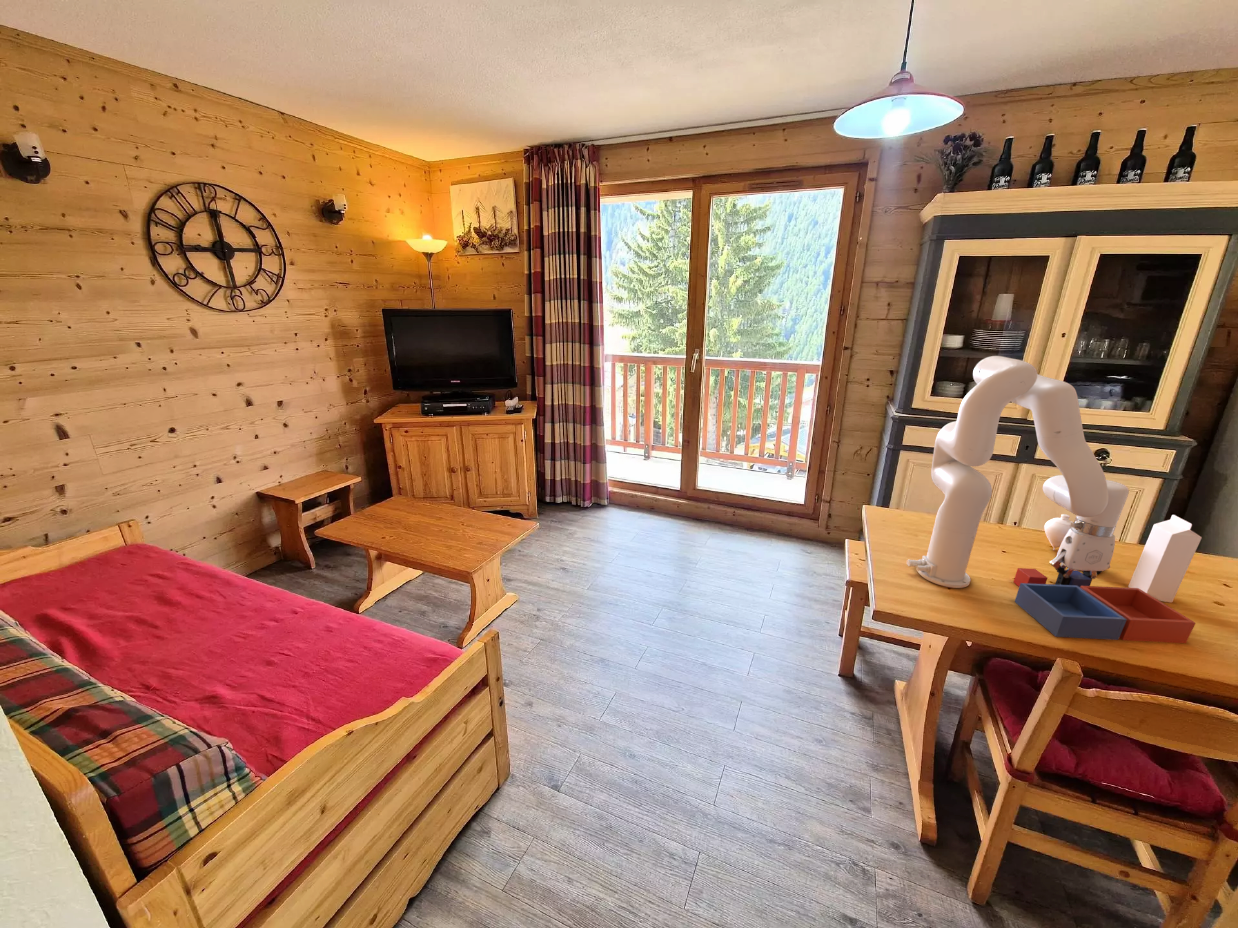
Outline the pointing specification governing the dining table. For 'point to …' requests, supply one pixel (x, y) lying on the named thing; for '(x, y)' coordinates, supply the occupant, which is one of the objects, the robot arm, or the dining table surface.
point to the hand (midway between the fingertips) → (1071, 587)
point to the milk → (1165, 559)
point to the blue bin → (1069, 611)
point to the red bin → (1143, 615)
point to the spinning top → (1057, 529)
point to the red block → (1029, 576)
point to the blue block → (1079, 579)
